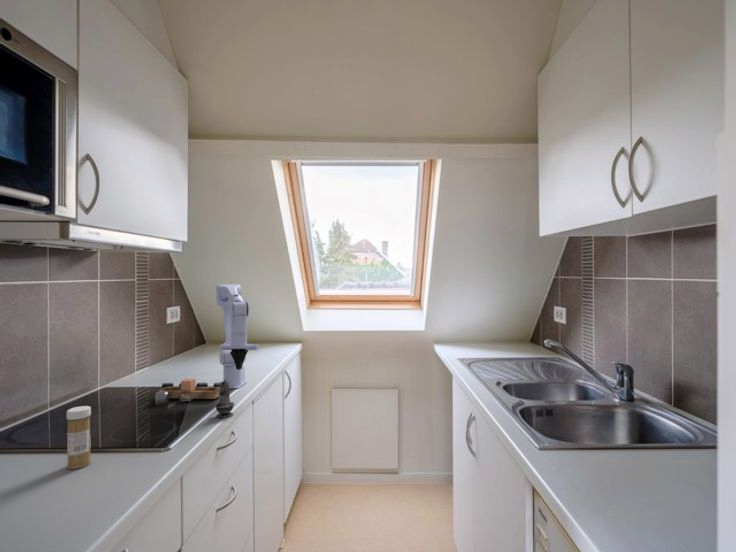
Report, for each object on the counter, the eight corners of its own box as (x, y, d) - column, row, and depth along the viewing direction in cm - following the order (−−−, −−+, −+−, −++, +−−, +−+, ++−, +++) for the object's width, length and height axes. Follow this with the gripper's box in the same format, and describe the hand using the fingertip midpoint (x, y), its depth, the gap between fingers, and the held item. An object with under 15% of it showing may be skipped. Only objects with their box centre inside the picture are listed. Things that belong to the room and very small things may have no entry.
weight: (159, 401, 137) (159, 390, 137) (170, 402, 136) (170, 390, 136) (152, 405, 133) (152, 394, 133) (163, 405, 132) (163, 394, 132)
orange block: (181, 392, 139) (181, 381, 139) (186, 389, 142) (186, 378, 142) (190, 392, 138) (190, 381, 138) (195, 389, 142) (195, 378, 142)
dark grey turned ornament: (237, 412, 124) (237, 376, 125) (229, 419, 119) (229, 380, 119) (220, 412, 125) (220, 376, 125) (211, 418, 119) (211, 380, 119)
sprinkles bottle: (92, 459, 92) (92, 404, 92) (88, 467, 88) (88, 409, 88) (69, 463, 90) (69, 406, 90) (63, 472, 86) (64, 412, 86)
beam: (155, 401, 137) (155, 391, 137) (166, 395, 144) (166, 386, 144) (214, 401, 136) (214, 392, 136) (222, 396, 143) (222, 386, 143)
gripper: (215, 334, 141) (215, 371, 141) (253, 334, 140) (253, 371, 140) (224, 332, 148) (224, 367, 148) (260, 332, 147) (260, 367, 147)
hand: (239, 369), depth 144 cm, fingers closed
